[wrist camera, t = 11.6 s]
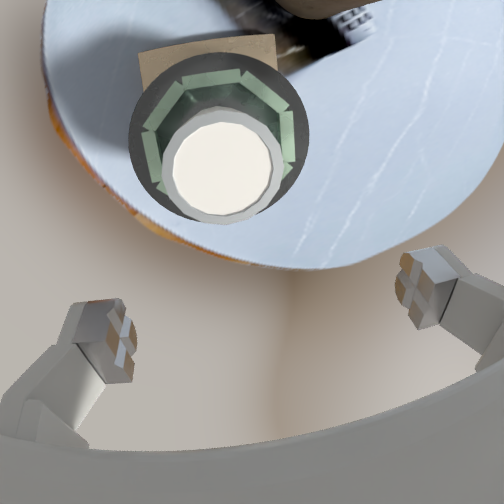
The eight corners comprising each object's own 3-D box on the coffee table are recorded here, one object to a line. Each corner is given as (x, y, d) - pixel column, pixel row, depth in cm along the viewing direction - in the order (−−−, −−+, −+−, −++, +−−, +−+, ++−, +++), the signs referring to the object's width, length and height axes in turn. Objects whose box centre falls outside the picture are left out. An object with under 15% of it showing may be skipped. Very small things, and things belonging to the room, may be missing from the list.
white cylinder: (177, 187, 24) (169, 231, 18) (169, 102, 20) (153, 117, 14) (263, 180, 25) (282, 221, 19) (263, 96, 21) (285, 108, 15)
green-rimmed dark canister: (141, 53, 27) (105, 48, 16) (270, 35, 28) (306, 20, 17) (168, 198, 37) (155, 260, 26) (281, 181, 38) (313, 235, 27)
